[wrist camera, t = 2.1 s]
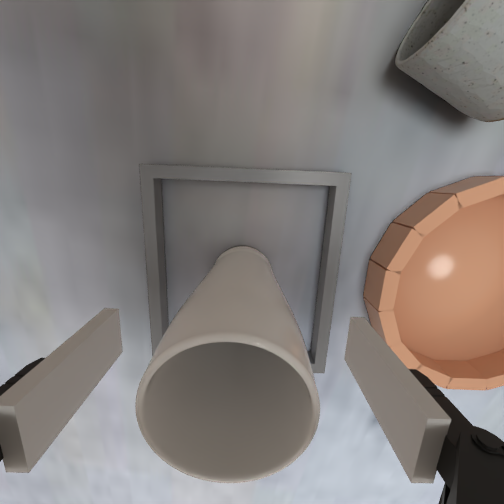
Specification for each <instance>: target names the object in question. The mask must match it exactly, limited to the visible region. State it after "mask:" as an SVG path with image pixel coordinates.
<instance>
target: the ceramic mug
mask: <svg viewBox="0 0 504 504" xmlns="http://www.w3.org/2000/svg"><path fill="white" fill-rule="evenodd" d="M395 64H396V66H397V67H398V68H399V69H400V70H402V71H403V72H405V73H406V74H408V75H409V76H411V77H412V78H413V79H415V80H416V81H418V82H419V83H421V84H422V85H424V86H425V87H426V88H428V89H429V90H431V91H432V92H434V93H435V94H437V95H438V96H440V97H441V98H443V99H444V100H446V101H447V102H448V103H449V104H451V105H452V106H453V107H455V108H456V109H457V110H459V111H460V112H462V113H464V114H466V115H468V116H470V117H473V118H475V119H478V120H481V121H485V122H494V121H500V120H504V0H429V1H428V2H427V3H426V5H425V6H424V8H423V10H422V11H421V13H420V14H419V16H418V17H417V19H416V20H415V21H414V23H413V24H412V26H411V27H410V29H409V31H408V33H407V34H406V36H405V38H404V39H403V41H402V44H401V46H400V47H399V49H398V52H397V56H396V59H395Z"/></svg>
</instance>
